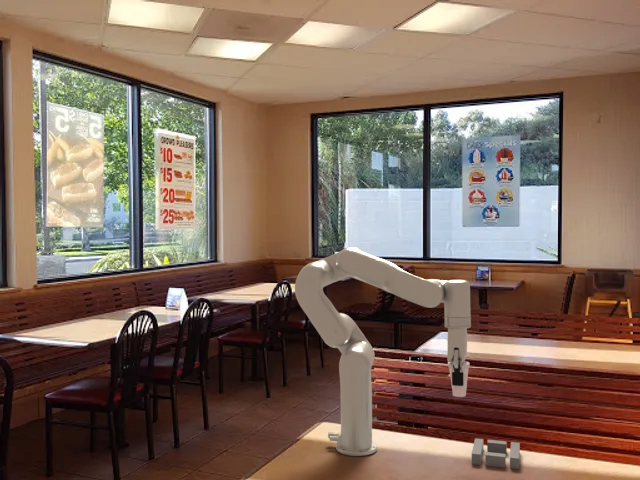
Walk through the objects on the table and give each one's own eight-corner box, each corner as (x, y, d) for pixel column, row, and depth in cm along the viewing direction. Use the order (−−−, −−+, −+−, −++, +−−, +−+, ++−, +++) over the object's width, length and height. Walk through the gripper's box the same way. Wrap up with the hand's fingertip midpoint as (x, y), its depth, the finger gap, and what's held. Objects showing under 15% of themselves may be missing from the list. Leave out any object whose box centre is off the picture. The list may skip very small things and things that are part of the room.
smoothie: (470, 398, 179) (469, 350, 179) (448, 397, 181) (447, 350, 180) (470, 392, 186) (469, 346, 185) (448, 392, 187) (447, 345, 187)
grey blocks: (471, 463, 177) (471, 453, 177) (475, 448, 190) (475, 438, 190) (519, 469, 173) (519, 458, 173) (519, 452, 186) (519, 442, 186)
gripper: (448, 317, 192) (449, 374, 192) (441, 326, 175) (442, 389, 176) (473, 317, 190) (474, 376, 190) (468, 327, 173) (469, 390, 174)
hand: (459, 381), depth 183 cm, fingers closed on smoothie, 6 cm apart
